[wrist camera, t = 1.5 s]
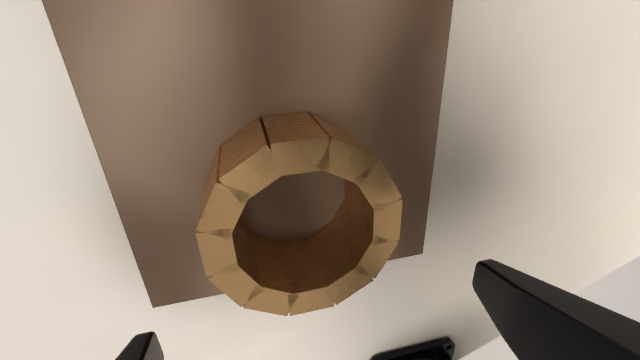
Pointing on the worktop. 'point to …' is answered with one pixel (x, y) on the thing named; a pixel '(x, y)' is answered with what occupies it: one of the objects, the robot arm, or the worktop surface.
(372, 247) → the wooden ring
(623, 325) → the robot arm
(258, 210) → the post board
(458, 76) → the worktop surface
